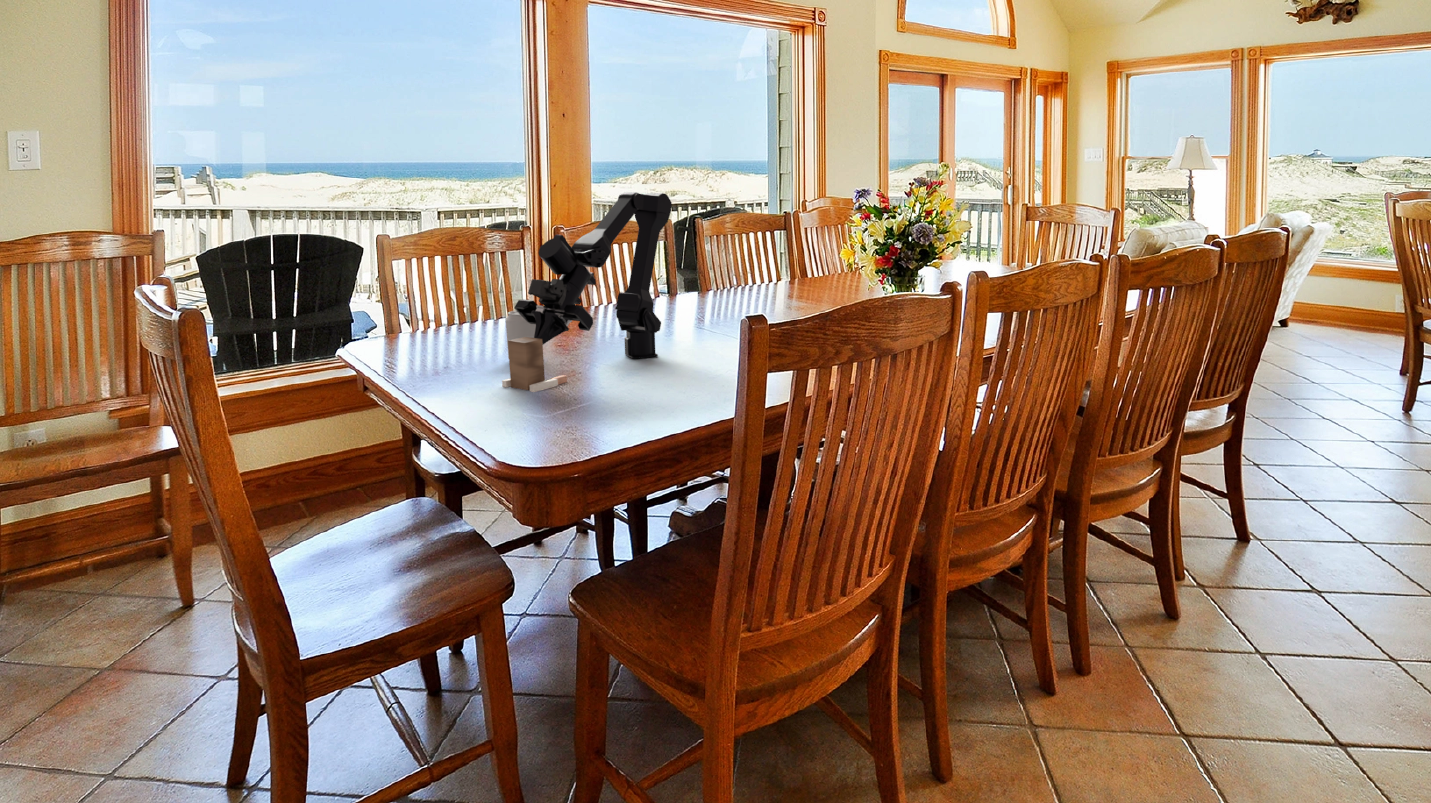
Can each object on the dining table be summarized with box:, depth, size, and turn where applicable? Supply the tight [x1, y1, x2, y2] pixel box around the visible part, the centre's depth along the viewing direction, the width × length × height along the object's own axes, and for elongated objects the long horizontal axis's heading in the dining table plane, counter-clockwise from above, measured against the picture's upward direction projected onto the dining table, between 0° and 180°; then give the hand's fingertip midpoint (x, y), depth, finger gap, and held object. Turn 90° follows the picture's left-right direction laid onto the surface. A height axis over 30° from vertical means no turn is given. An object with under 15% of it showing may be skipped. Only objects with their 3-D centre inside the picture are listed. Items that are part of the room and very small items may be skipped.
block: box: [507, 337, 546, 391], centre depth 201 cm, size 5×5×10 cm
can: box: [505, 310, 536, 360], centre depth 227 cm, size 8×8×12 cm
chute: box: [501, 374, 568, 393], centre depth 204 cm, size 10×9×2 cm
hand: (535, 346), depth 203 cm, fingers closed, pressing on block
